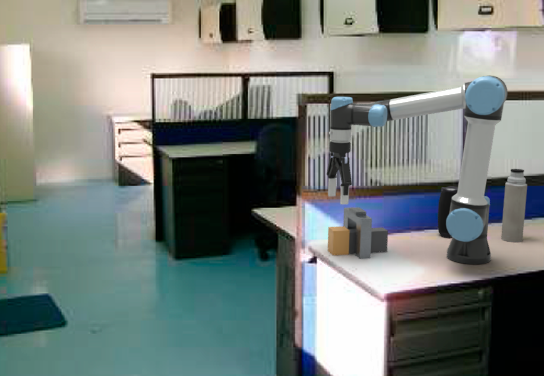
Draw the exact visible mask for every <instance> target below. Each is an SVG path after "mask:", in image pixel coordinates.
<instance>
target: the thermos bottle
mask: <svg viewBox="0 0 544 376" xmlns="http://www.w3.org/2000/svg"><path fill="white" fill-rule="evenodd" d="M524 172H525V169H522V168H511V169H510V175H509V176H508V177H507V181H506V182H505V185H504V186H505V187H504V198H503V210H502V222H501V223H502V224H501V235H500V238H501V240H502V241H505V242H511V243H520V242H522V241H523V239H524V227H525V217H526V216H525V215H526V202H527V190H528V183H526V182H527V180H526V178H525V177H524V175H525V174H524Z"/></svg>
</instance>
